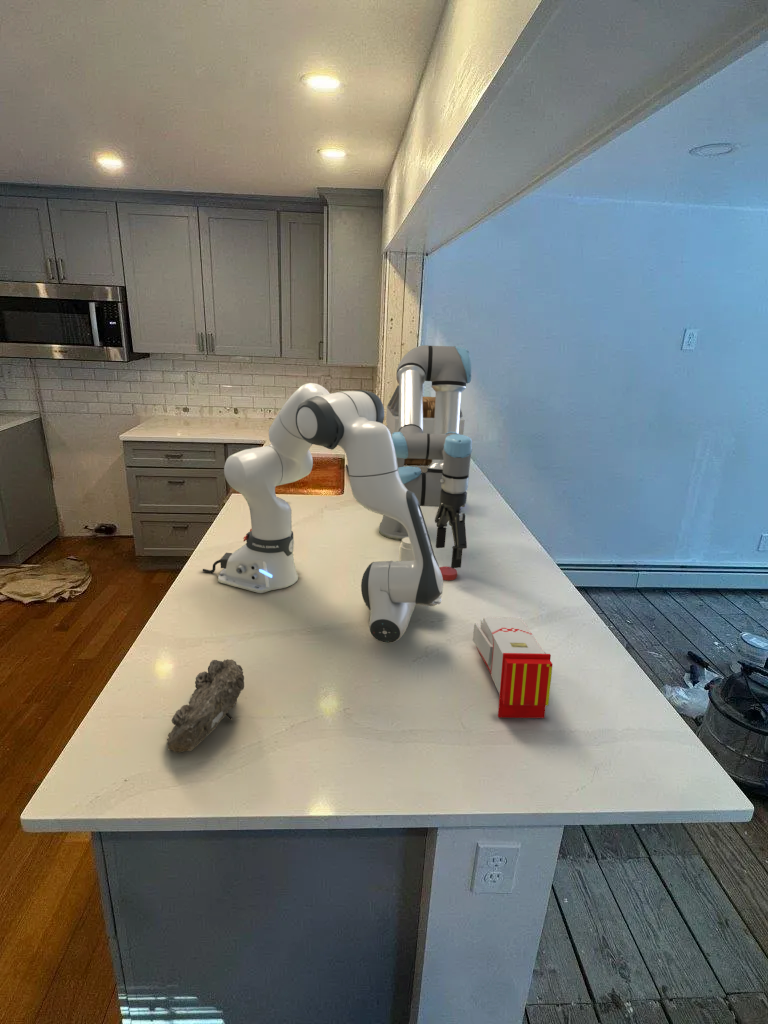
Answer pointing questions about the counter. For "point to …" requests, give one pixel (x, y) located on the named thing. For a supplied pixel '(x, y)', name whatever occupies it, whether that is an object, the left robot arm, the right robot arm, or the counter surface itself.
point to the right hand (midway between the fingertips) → (447, 557)
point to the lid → (448, 573)
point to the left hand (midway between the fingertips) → (408, 575)
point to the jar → (406, 550)
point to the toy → (515, 666)
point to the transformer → (428, 424)
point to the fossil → (206, 705)
